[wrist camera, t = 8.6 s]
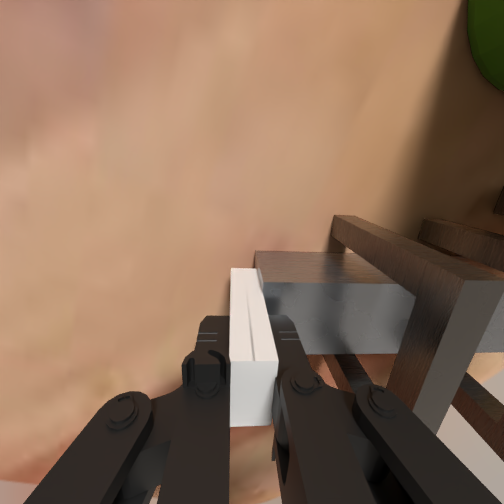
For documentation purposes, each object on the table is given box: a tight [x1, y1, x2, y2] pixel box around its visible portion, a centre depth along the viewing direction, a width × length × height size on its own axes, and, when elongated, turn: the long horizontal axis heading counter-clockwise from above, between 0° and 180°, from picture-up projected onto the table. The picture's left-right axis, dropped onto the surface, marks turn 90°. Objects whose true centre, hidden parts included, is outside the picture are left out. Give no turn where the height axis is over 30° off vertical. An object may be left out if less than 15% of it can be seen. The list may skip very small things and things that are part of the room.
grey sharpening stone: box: [254, 251, 504, 354], centre depth 14 cm, size 18×4×4 cm, turn 87°
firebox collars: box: [322, 188, 504, 462], centre depth 10 cm, size 12×10×10 cm
